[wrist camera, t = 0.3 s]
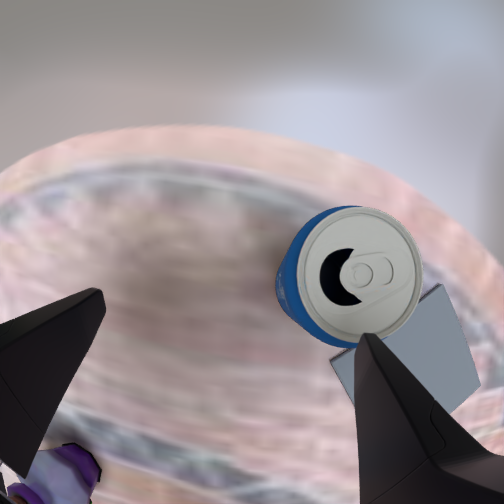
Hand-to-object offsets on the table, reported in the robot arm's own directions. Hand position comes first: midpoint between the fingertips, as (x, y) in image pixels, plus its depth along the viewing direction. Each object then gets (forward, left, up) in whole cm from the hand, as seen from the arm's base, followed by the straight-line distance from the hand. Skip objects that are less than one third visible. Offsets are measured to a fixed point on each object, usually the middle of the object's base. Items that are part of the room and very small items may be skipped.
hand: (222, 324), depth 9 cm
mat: (-13, -10, -14) cm, 22 cm away
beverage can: (-1, -6, -14) cm, 15 cm away
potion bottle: (-7, +24, -14) cm, 29 cm away
